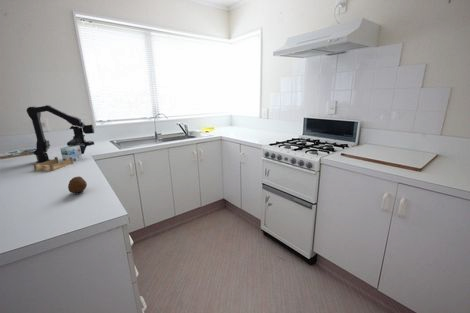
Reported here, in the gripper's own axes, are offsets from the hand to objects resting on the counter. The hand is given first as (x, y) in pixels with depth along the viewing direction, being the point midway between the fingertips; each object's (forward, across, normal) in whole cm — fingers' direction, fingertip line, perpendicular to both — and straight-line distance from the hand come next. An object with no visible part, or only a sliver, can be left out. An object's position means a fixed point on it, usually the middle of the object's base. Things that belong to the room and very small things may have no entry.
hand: (82, 154), depth 174 cm
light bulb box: (+3, 0, -10) cm, 10 cm away
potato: (+3, +52, -63) cm, 82 cm away
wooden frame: (+2, 0, -25) cm, 25 cm away
